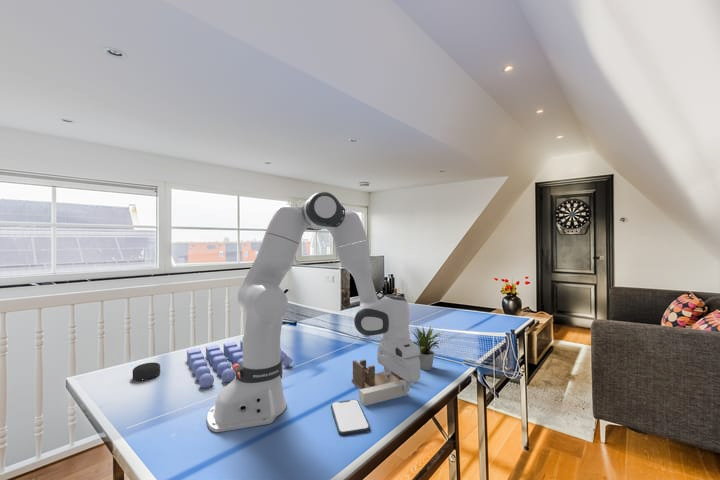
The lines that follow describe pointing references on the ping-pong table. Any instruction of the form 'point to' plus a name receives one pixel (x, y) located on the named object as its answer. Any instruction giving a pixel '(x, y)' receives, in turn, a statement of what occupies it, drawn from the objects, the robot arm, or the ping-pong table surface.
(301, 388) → the ping-pong table surface
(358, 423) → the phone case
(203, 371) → the blocks
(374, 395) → the clay strip
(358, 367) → the rack
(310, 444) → the ping-pong table surface
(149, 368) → the smart speaker
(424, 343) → the house plant
